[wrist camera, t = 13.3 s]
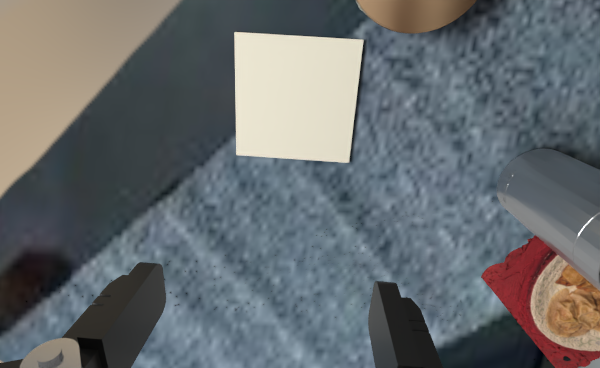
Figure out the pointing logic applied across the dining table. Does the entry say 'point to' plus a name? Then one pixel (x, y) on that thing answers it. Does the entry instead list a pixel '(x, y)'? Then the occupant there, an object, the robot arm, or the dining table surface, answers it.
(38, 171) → the dining table surface
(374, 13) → the lid
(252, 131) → the mat
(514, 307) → the plate with food
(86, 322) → the robot arm
